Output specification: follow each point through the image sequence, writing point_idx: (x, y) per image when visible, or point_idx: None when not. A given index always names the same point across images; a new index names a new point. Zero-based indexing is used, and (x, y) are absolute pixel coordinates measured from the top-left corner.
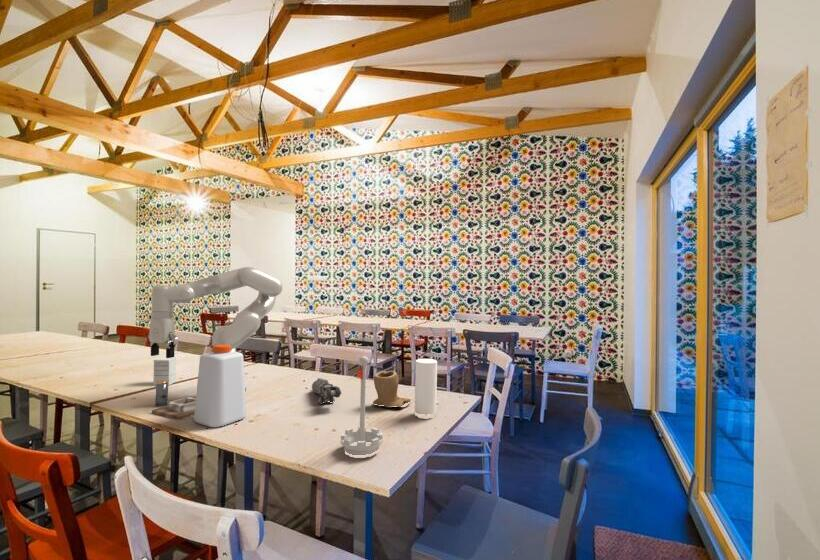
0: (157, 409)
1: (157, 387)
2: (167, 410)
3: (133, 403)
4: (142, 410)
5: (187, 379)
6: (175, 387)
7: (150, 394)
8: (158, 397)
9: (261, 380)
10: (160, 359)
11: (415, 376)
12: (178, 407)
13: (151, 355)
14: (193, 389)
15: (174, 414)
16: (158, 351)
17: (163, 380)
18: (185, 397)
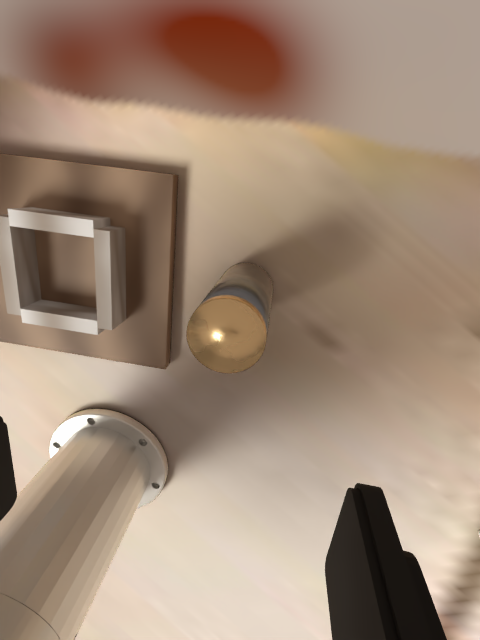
0: (157, 193)
1: (228, 288)
2: (100, 200)
3: (411, 263)
4: (261, 190)
5: (464, 611)
6: (419, 512)
7: (450, 403)
8: (231, 274)
9: (162, 632)
10: None
11: None
12: (28, 209)
13: (359, 484)
14: (311, 505)
15: (16, 165)
16: (333, 617)
17: (231, 352)
18: (111, 325)
